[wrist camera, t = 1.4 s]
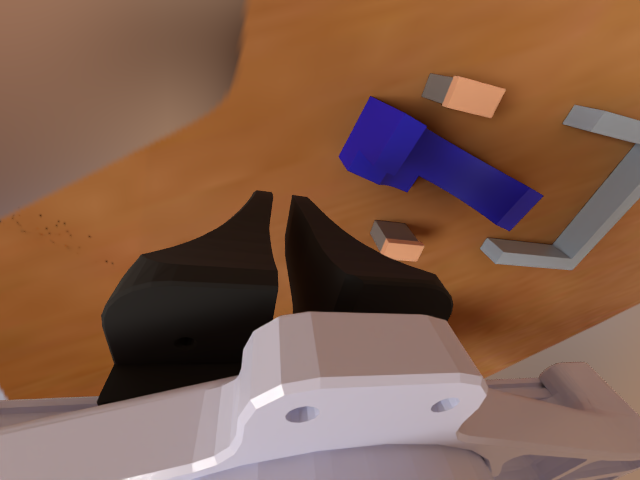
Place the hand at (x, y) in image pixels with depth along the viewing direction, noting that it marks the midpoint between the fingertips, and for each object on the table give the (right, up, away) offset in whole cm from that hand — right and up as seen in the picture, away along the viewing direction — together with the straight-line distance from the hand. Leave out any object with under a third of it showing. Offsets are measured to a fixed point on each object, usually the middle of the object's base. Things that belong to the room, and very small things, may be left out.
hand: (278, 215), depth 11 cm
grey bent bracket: (+25, +3, +15) cm, 29 cm away
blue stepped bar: (+9, +5, +11) cm, 15 cm away
